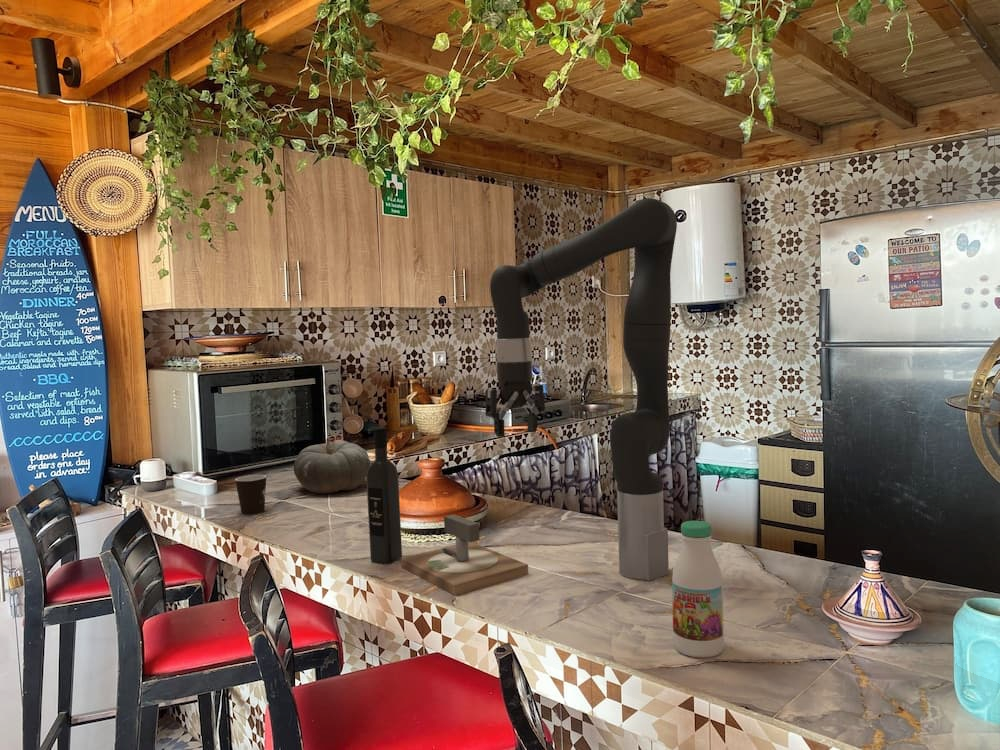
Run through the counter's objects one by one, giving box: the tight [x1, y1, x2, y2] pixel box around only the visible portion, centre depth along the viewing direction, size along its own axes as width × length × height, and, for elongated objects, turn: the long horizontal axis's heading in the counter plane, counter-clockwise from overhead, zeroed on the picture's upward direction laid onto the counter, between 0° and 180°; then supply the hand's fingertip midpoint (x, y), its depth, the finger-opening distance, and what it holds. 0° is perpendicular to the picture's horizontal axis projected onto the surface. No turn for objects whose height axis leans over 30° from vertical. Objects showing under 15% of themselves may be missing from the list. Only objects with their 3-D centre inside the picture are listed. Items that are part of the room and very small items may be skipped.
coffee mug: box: [234, 474, 267, 515], centre depth 217 cm, size 12×9×10 cm
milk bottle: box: [671, 520, 725, 659], centre depth 116 cm, size 8×8×20 cm
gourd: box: [293, 437, 372, 495], centre depth 241 cm, size 25×25×17 cm
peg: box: [442, 514, 480, 561], centre depth 158 cm, size 12×3×8 cm, turn 36°
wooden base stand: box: [400, 541, 529, 596], centre depth 157 cm, size 22×18×2 cm
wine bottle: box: [365, 426, 403, 565], centre depth 165 cm, size 6×6×30 cm
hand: (516, 434), depth 159 cm, fingers open, 8 cm apart
